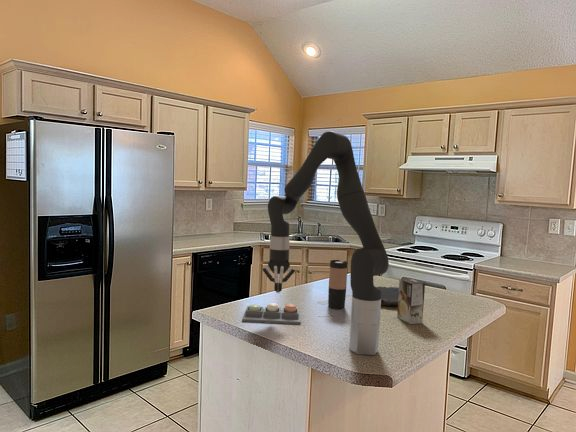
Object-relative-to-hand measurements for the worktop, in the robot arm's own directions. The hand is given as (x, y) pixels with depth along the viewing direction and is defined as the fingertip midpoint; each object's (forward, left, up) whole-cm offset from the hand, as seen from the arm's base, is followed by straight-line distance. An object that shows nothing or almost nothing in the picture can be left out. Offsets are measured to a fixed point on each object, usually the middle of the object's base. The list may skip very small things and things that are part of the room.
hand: (278, 292), depth 167 cm
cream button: (+1, +2, -8) cm, 8 cm away
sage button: (+1, +9, -9) cm, 12 cm away
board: (+33, -50, -11) cm, 61 cm away
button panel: (+1, +2, -10) cm, 11 cm away
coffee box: (+6, -53, -11) cm, 54 cm away
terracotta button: (+1, -5, -8) cm, 9 cm away
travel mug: (+20, -25, -11) cm, 34 cm away
